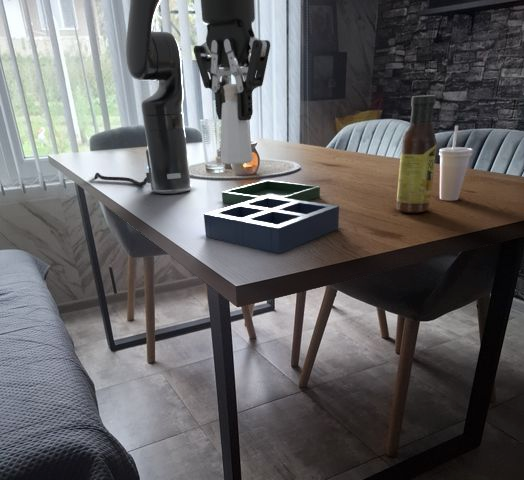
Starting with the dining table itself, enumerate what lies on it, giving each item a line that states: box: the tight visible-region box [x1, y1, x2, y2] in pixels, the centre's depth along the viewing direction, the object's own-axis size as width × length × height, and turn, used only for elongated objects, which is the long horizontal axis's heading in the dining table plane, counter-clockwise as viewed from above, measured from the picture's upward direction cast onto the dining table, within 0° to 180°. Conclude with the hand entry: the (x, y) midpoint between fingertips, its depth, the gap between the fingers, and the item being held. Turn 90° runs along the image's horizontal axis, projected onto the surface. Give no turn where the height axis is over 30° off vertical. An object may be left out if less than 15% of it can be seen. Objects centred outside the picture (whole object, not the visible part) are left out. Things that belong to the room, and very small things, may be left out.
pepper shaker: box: [220, 83, 254, 165], centre depth 76 cm, size 5×5×11 cm
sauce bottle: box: [396, 94, 438, 214], centre depth 89 cm, size 7×6×20 cm
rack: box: [203, 196, 340, 255], centre depth 83 cm, size 16×16×4 cm
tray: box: [221, 179, 321, 205], centre depth 107 cm, size 15×15×2 cm
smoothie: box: [438, 125, 474, 202], centre depth 98 cm, size 6×6×14 cm
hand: (234, 119), depth 75 cm, fingers closed on pepper shaker, 4 cm apart
